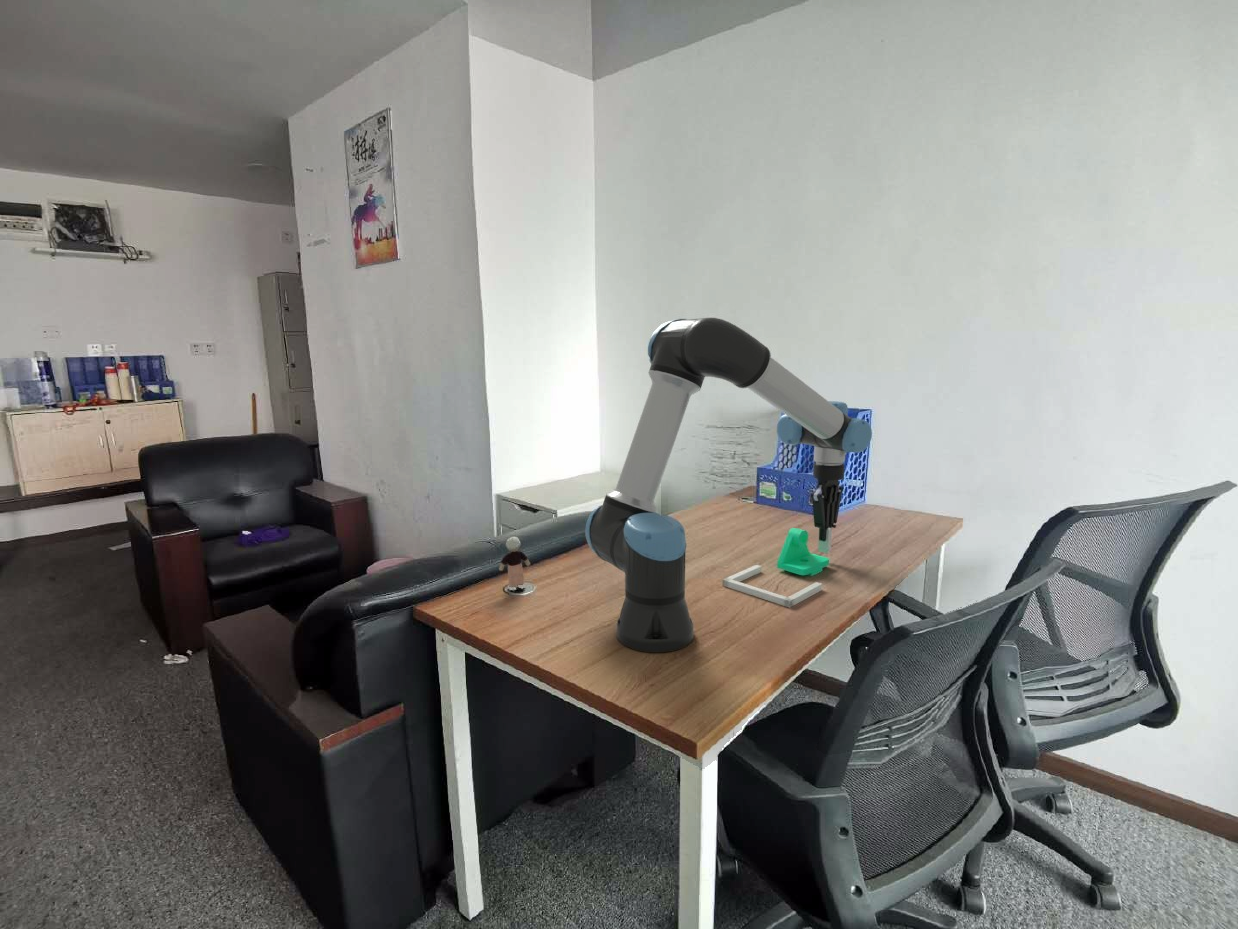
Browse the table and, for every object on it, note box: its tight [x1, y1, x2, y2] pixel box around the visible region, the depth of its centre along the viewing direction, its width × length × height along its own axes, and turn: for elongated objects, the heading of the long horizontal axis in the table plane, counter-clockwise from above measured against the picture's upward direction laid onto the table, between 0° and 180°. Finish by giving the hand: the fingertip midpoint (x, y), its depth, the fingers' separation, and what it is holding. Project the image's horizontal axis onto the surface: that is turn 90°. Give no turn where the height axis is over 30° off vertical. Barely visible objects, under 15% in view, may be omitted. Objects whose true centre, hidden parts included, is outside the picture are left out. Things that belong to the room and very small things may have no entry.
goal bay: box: [721, 564, 823, 609], centre depth 147 cm, size 14×18×2 cm
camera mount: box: [776, 527, 830, 577], centre depth 158 cm, size 12×8×10 cm, turn 130°
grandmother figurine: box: [498, 536, 531, 588], centre depth 147 cm, size 8×4×13 cm, turn 134°
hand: (824, 551), depth 163 cm, fingers closed
